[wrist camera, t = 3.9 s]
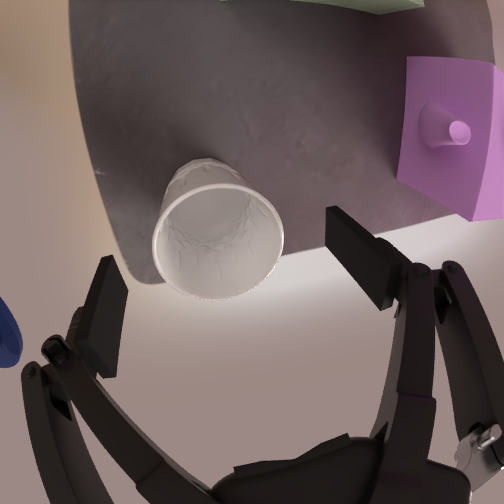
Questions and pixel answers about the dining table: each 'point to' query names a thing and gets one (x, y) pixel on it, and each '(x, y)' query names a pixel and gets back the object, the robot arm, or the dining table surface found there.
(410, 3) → the crate
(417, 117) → the teapot
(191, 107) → the dining table surface
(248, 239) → the white cup
